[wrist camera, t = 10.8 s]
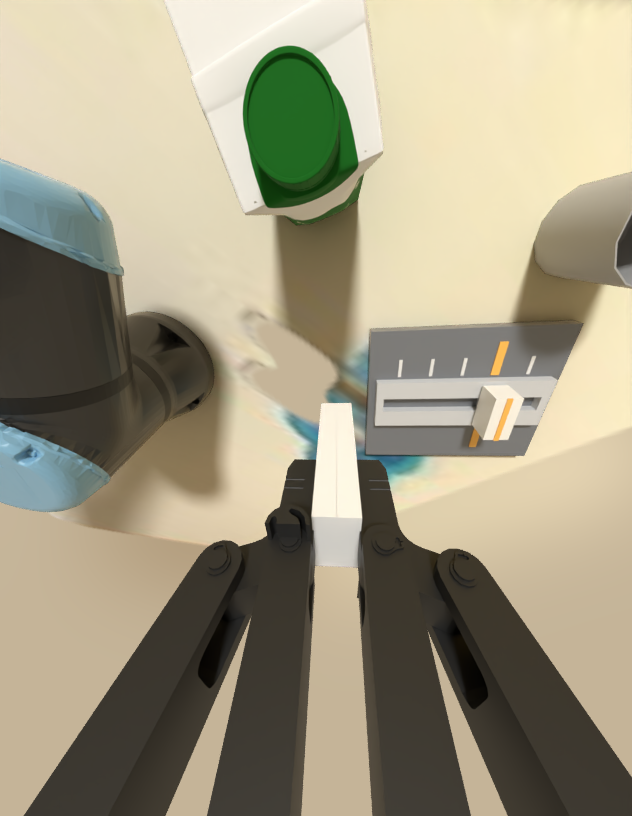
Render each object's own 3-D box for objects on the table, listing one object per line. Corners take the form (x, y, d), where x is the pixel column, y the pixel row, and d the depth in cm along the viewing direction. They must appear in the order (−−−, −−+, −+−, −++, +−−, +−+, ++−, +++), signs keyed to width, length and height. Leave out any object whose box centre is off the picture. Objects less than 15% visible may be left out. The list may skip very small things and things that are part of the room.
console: (365, 448, 45) (366, 459, 42) (370, 328, 34) (371, 334, 32) (518, 449, 42) (528, 461, 40) (573, 320, 32) (591, 326, 30)
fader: (467, 419, 38) (483, 440, 34) (478, 380, 35) (497, 399, 31) (490, 419, 38) (508, 441, 34) (503, 380, 35) (525, 399, 30)
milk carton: (291, 237, 30) (224, 229, 13) (257, 132, 26) (91, -88, 9) (369, 206, 28) (409, 147, 11) (346, 85, 24) (355, -324, 7)
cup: (626, 254, 28) (748, 259, 20) (537, 290, 31) (611, 308, 22) (633, 159, 24) (787, 114, 16) (531, 208, 27) (618, 192, 18)
